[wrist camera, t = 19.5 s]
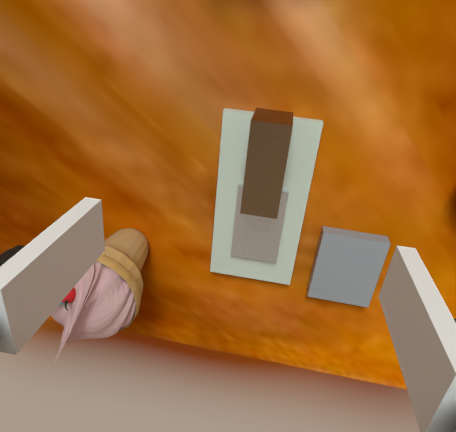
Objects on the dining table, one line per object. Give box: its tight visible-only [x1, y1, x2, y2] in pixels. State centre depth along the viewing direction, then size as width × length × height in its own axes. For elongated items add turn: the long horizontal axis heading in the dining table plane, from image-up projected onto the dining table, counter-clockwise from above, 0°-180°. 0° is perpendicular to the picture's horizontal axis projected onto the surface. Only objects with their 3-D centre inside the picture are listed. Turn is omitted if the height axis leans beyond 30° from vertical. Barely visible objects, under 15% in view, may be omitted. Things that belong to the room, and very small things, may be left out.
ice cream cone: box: [51, 228, 149, 361], centre depth 44 cm, size 11×11×20 cm
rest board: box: [210, 108, 323, 285], centre depth 47 cm, size 11×22×1 cm, turn 175°
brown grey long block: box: [231, 108, 293, 263], centre depth 42 cm, size 19×6×6 cm, turn 175°
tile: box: [307, 226, 391, 307], centre depth 49 cm, size 8×2×10 cm
